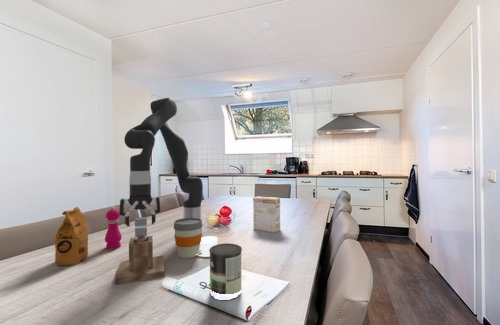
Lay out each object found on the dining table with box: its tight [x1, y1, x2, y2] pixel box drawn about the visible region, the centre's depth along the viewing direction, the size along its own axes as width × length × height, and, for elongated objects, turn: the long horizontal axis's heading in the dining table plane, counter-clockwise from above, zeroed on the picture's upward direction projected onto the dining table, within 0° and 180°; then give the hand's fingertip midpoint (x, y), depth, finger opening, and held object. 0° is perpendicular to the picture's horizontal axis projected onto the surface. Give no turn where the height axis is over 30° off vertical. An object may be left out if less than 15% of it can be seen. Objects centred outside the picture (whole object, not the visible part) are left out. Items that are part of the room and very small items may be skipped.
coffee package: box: [54, 206, 89, 267], centre depth 109 cm, size 10×12×22 cm
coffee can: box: [209, 242, 243, 294], centre depth 82 cm, size 10×10×14 cm
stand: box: [114, 235, 165, 285], centre depth 98 cm, size 16×16×14 cm
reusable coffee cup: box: [173, 218, 203, 259], centre depth 115 cm, size 12×13×15 cm
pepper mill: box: [104, 205, 123, 250], centre depth 125 cm, size 7×7×20 cm
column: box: [134, 216, 148, 242], centre depth 98 cm, size 4×4×18 cm
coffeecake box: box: [252, 195, 281, 234], centre depth 154 cm, size 15×7×20 cm, turn 58°
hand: (140, 225), depth 98 cm, fingers open, 8 cm apart
